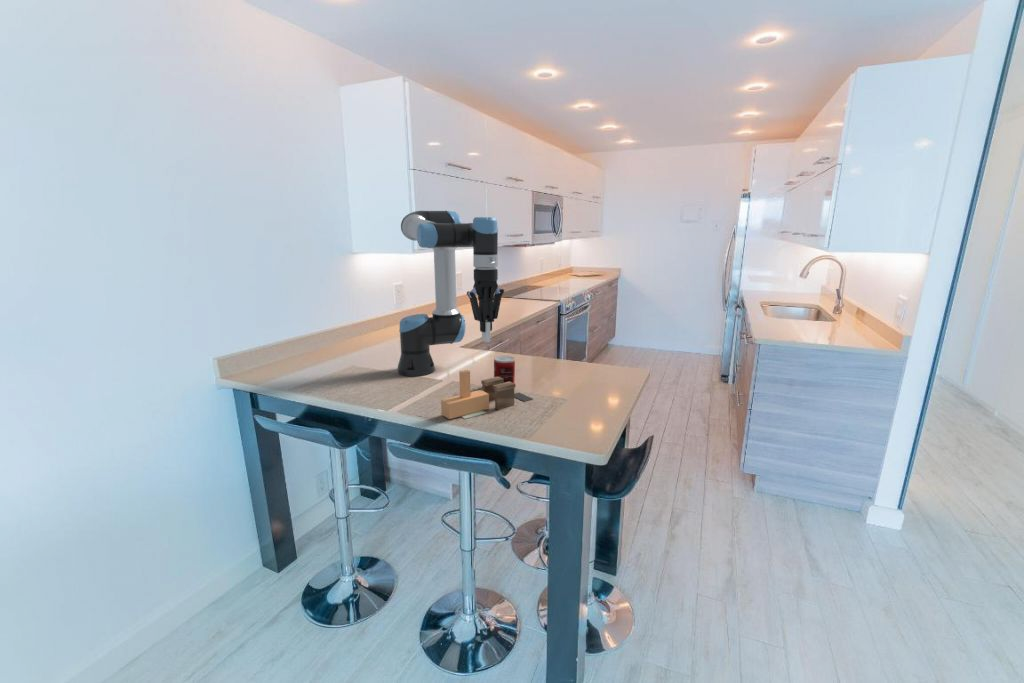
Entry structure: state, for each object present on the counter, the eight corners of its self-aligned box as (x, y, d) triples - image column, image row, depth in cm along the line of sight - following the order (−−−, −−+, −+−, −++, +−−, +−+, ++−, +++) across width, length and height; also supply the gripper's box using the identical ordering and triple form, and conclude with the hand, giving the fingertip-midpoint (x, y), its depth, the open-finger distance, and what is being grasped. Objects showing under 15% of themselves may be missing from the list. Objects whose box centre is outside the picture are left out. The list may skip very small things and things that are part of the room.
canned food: (503, 381, 181) (502, 354, 179) (519, 386, 176) (519, 358, 174) (489, 386, 176) (489, 358, 173) (506, 391, 171) (505, 362, 168)
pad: (450, 410, 153) (450, 409, 153) (471, 404, 158) (471, 404, 158) (465, 419, 146) (465, 418, 146) (486, 413, 151) (486, 412, 151)
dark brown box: (481, 401, 161) (481, 380, 159) (498, 397, 165) (498, 376, 163) (498, 410, 153) (498, 388, 151) (515, 405, 157) (515, 383, 155)
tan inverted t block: (441, 414, 149) (439, 373, 146) (480, 403, 158) (480, 365, 154) (449, 419, 145) (447, 377, 142) (489, 408, 154) (488, 368, 150)
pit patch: (510, 395, 167) (510, 394, 167) (519, 392, 169) (519, 392, 169) (524, 401, 160) (524, 401, 160) (533, 399, 163) (533, 398, 163)
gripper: (474, 270, 139) (475, 346, 145) (509, 268, 146) (509, 340, 152) (461, 268, 144) (462, 341, 151) (495, 266, 152) (496, 336, 158)
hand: (486, 341), depth 151 cm, fingers closed
